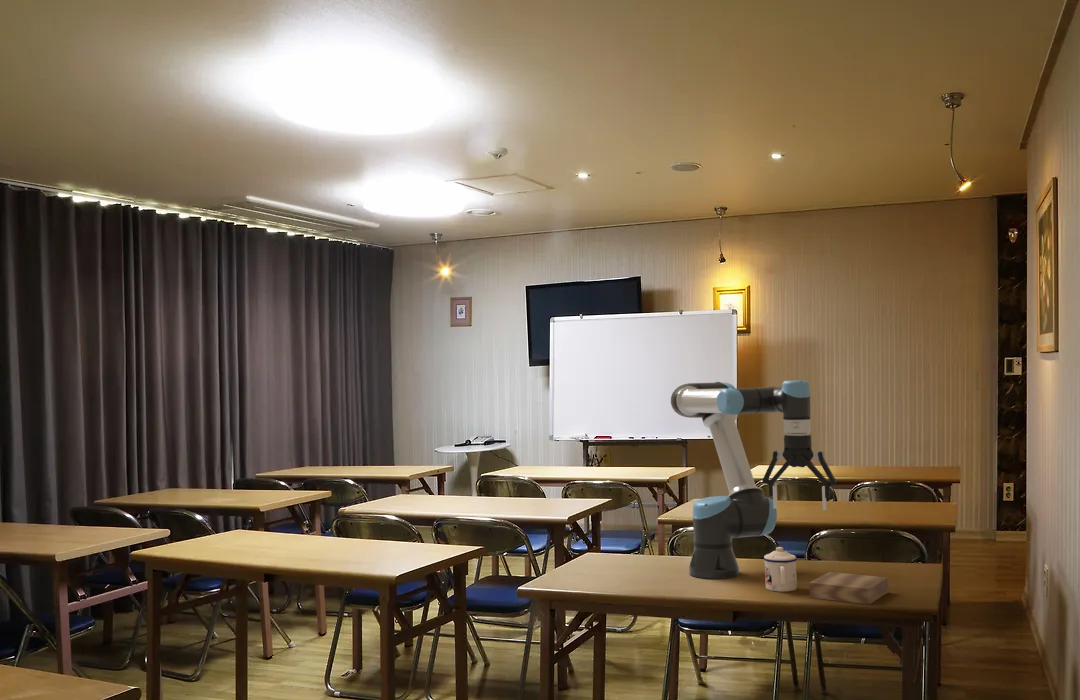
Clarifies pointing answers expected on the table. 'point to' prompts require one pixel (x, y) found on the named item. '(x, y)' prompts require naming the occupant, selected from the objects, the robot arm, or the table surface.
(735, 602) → the table surface
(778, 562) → the teacup with lid
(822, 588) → the wooden square block
